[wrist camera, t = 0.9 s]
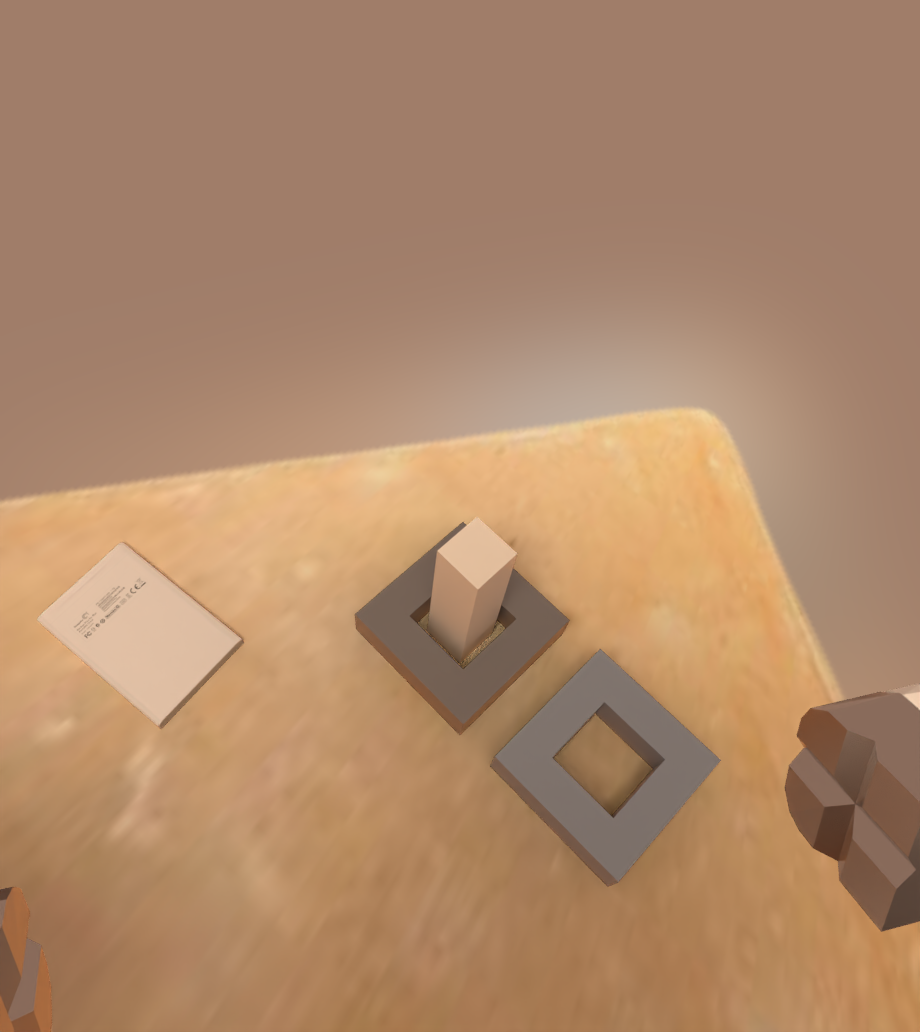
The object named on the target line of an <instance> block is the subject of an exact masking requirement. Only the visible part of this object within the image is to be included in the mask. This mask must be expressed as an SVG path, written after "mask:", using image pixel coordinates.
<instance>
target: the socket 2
mask: <svg viewBox="0 0 920 1032" xmlns="http://www.w3.org/2000/svg"><path fill="white" fill-rule="evenodd" d="M594 714H596V715H597V716H598V717H600V718H601V719H602V720H603V721H604V722H605V723H606V724H607V725H608V726H609V727H610V728H611V729H612V730H613V731H614V732H615V733H616V734H617V735H618V736H619V737H620V738H622V739H623V740H624V741H625V742H626V743H627V744H628V745H629V746H630V747H631V748H632V749H633V750H634V751H635V752H636V753H637V754H638V755H639V756H640V757H641V758H642V759H644V760H645V761H646V762H647V763H648V764H649V765H650V766H651V767H652V768H653V769H652V771H651V772H650V773H649V774H648V775H647V776H646V777H645V779H644V780H643V781H642V782H641V783H640V784H639V785H638V787H637V788H636V789H635V790H634V791H633V792H632V793H631V795H630V796H629V797H628V798H627V799H626V800H625V801H624V803H623V804H622V805H621V806H620V807H619V808H618V809H617V810H616V812H615V813H614V814H613V815H612V816H611V815H610V814H609V813H608V812H607V811H606V810H605V809H604V808H603V807H602V806H601V805H600V804H599V803H598V802H597V801H596V800H595V799H594V798H593V797H592V796H591V795H590V794H589V793H587V792H586V791H585V790H584V789H583V788H582V787H581V786H580V785H579V784H578V783H577V782H576V781H575V780H574V779H573V778H572V777H571V776H570V775H569V774H568V773H567V772H566V771H565V770H564V769H563V768H562V767H561V766H560V765H559V764H558V763H557V762H556V761H555V760H554V759H553V758H554V757H555V756H556V755H557V754H558V752H559V751H560V750H561V749H562V748H563V747H564V746H565V745H566V744H567V743H568V742H569V741H570V740H571V739H572V738H573V737H574V736H575V734H576V733H577V732H578V731H579V730H580V729H581V728H582V727H583V726H584V725H585V724H586V723H587V722H588V721H589V720H590V719H591V718H592V716H593V715H594ZM720 761H721V760H720V759H719V758H718V757H717V756H716V755H715V754H713V753H712V752H711V751H710V750H709V749H708V748H707V747H706V746H705V745H704V744H703V743H702V742H700V741H699V740H698V739H697V738H696V737H695V736H694V735H693V734H692V733H691V732H690V731H689V730H688V729H686V728H685V727H684V726H683V725H682V724H681V723H680V722H679V721H678V720H677V719H676V718H675V717H673V716H672V715H671V714H670V713H669V712H668V711H667V710H666V709H665V708H664V707H663V706H662V705H660V704H659V703H658V702H657V701H656V700H655V699H654V698H653V697H652V696H651V695H650V694H649V693H647V692H646V691H645V690H644V689H643V688H642V687H641V686H640V685H639V684H638V683H637V682H636V681H635V680H633V679H632V678H631V677H630V676H629V675H628V674H627V673H626V672H625V671H624V670H623V669H622V668H620V667H619V666H618V665H617V664H616V663H615V662H614V661H613V660H612V659H611V658H610V657H609V656H607V655H606V654H605V653H604V652H603V651H602V650H601V649H600V650H599V651H598V652H597V653H596V654H595V655H594V656H593V657H592V658H591V659H590V660H589V661H588V662H587V663H586V664H585V665H584V666H583V667H582V668H581V669H580V670H579V671H578V672H577V673H576V674H575V675H574V676H573V677H572V678H571V679H570V680H569V681H568V682H567V683H566V684H565V685H564V686H563V687H562V688H561V689H560V690H559V691H558V692H557V693H556V695H555V696H554V697H553V698H552V699H551V700H550V701H549V702H548V703H547V704H546V705H545V706H544V707H543V708H542V709H541V710H540V711H539V712H538V713H537V714H536V715H535V716H534V717H533V718H532V719H531V720H530V721H529V722H528V723H527V724H526V725H525V726H524V727H523V728H522V729H521V730H520V731H519V732H518V733H517V734H516V735H515V736H514V737H513V738H512V739H511V740H510V741H509V742H508V743H507V744H506V745H505V746H504V747H503V749H502V750H501V751H500V752H499V753H498V754H497V755H496V756H495V757H494V759H493V761H492V763H491V765H490V766H491V767H492V768H493V770H494V771H495V772H496V773H497V774H498V775H499V776H500V777H501V778H502V779H503V780H504V781H505V782H506V783H507V784H508V785H509V786H510V787H511V788H512V789H513V790H514V791H515V792H516V793H517V794H518V795H519V796H520V797H521V798H522V799H523V800H524V801H525V802H526V803H527V804H528V805H529V806H530V807H531V808H532V809H533V810H534V811H535V812H536V814H537V815H538V816H539V817H540V818H541V819H542V820H543V821H544V822H545V823H546V824H547V825H548V826H549V827H550V828H551V829H552V830H553V831H554V832H555V833H556V834H557V835H558V836H559V837H560V838H561V839H562V840H563V841H564V842H565V843H566V844H567V845H568V846H569V847H570V848H571V849H572V850H573V851H574V852H575V853H576V854H577V855H578V856H579V858H580V859H581V860H582V861H583V862H584V863H585V864H586V865H587V866H588V867H589V868H590V869H591V870H592V871H593V872H594V873H595V874H596V875H597V876H598V877H599V878H600V879H601V880H602V881H603V882H604V883H605V884H606V885H607V886H610V885H613V884H615V883H618V882H619V881H620V880H621V879H622V877H623V876H624V875H625V874H626V873H627V871H628V870H629V869H630V868H631V867H632V865H633V864H634V863H635V862H636V861H637V859H638V858H639V857H640V856H641V855H642V854H643V852H644V851H645V850H646V849H647V848H648V846H649V845H650V844H651V843H652V842H653V840H654V839H655V838H656V837H657V836H658V835H659V833H660V832H661V831H662V830H663V829H664V827H665V826H666V825H667V824H668V823H669V821H670V820H671V819H672V818H673V817H674V815H675V814H676V813H677V812H678V811H679V810H680V808H681V807H682V806H683V805H684V804H685V802H686V801H687V800H688V799H689V798H690V796H691V795H692V794H693V793H694V792H695V791H696V789H697V788H698V787H699V786H700V785H701V783H702V782H703V781H704V780H705V779H706V777H707V776H708V775H709V774H710V773H711V771H712V770H713V769H714V768H715V767H716V766H717V764H718V763H719V762H720Z"/></svg>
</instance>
